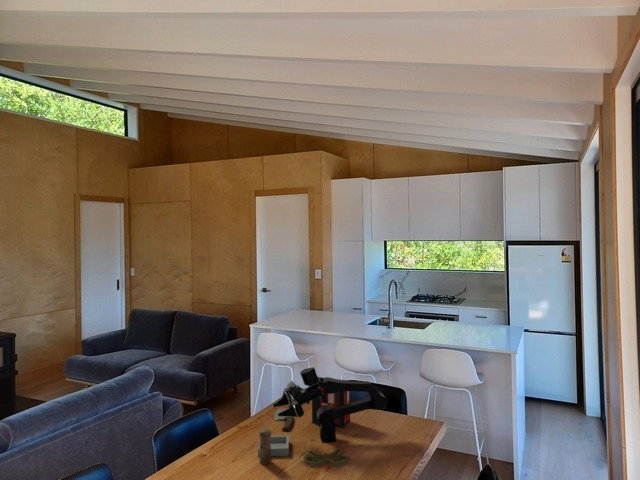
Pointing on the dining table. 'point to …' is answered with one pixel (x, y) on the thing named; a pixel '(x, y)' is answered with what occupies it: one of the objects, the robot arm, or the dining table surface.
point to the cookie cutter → (326, 458)
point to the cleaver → (288, 419)
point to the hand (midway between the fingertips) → (275, 410)
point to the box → (278, 446)
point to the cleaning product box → (335, 401)
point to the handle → (265, 446)
